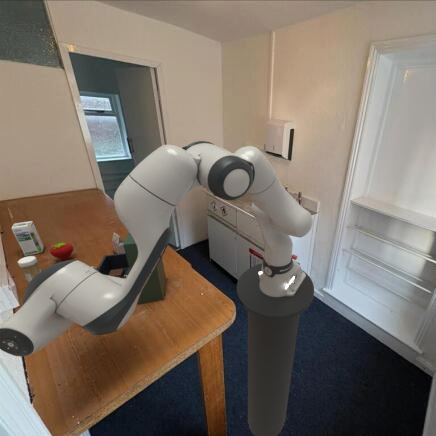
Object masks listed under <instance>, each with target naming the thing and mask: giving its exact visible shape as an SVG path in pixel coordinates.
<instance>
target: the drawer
mask: <svg viewBox="0 0 436 436" xmlns="http://www.w3.org/2000/svg"><path fill="white" fill-rule="evenodd" d="M97 267H98V269H97V270H98V271H99V273H101V274H103V275H109V273H110V271H111V270H117V269H124V272H125V274H126V273H128V274H129V272H130V268H129V264H128V261H127V257H126V253H121V254H117V253H113V254H107V255H103V257H102V259H101V261H100V263H99V265H98V266H97Z"/></svg>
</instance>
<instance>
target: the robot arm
mask: <svg viewBox="0 0 436 436" xmlns="http://www.w3.org/2000/svg"><path fill="white" fill-rule="evenodd" d="M200 186H201V187H202V188H204V189H206V190H207V191H209V192H210V193H212V195H214V196H215V197H216V198H219V199H222V200H225V201H235V200H238V199H240V198H242V197H243V196H244V195H247V197H248V198H249V199H250V201H251V202H252V203H251V209H250V210H251V214H252V216H253V218H254V219H255V220H256V223H257V224H258V226H259V228H260V231H261V234H262V238H263V245H264V250H263V251H264V252H263V257H262V263H263V264H262V269H261V272H259V279H260V283H259V287H260V290H261V291H262V292H263V293H264V294H266V295H268V296H271V297H282V296H294V295H295V293H296V291H297V290H298V288H299V287H300V285H301V284H302V282H303V281H304V279H305V277H306V274H307V273H306V272H305V271H304V270H303V269H302V266H301V263H299V262H298V261H297V259H298V255H296V254H293V249H294V248H293V247H294V245H293V244H294V243H293V240H292V237H293V238H298V239H299V238H303V237H305V236H307V235H308V234H309V232H310V231H311V229H312V227H313V223H314V221H313V216H312V213H311V212H309V211H308V210H307V209H306V208H304V207H303V206H302V205H301V204H300V203H299V202H297V200H296V199H295V198H294V197H293V196H292V195H291V194H290V193H289V192H288V191H287V189H286V188H285V187H284V186H283V183H282V181H281V180H280V178H279V176H278V175H277V172H276V171H275V169H274V167H273V166H272V164H271V162H270V161H269V159H268V158H267V157H266V156H265V154H264V153H263V152H262V151H261V150H260V149H259V148H258V147H256V146H252V145H246V146H242V147H240V148H238V149H237V150H236V151H235V152H234V153H233V152H231V151H230V150H228V149H226V148H224V147H221V146H218V145H216V144H215V143H213V142H210V141H206V140H198V141H193V142H192V143H189V144H188V145H186V146H182V147H180V146H178V145H174V144H170V143H169V144H163V145H161V146H159V147H157V148H156V149H155V150H153V151H152V152H151V153H150V154H148V155H147V156H146V157H144V159H142V161H140V162H139V163H138V164H137V165H136V166H135V167H134V168H133V169H132V171H130V173H129V174H128V175H127V176H126V177H125V178H124V179H123V181H121V183H120V184H119V186H118V187H117V189H116V191H115V192H114V195H113V205H114V210H115V213H116V216H117V218H118V219H119V221H120V222H121V224H122V225H123V226H124V228H125V229H126V230H127V231H128V233H130V234H131V236H132V237H133V239H134V241H135V243H136V245H137V248H138V257H137V260H136V262H135V264H134V265H133V267H132V269H131V271H130V272H129V274H128V273H126V274H125V275H124V278H118V277H113V276H108V275H103V274H101V273H99V271H98V270H97V269H98V267H99V266H95V265H92V266H91V265H88V264H87V263H85V262H83V261H81V260H79V259H69V260H68V259H67V260H63V261H60V262H56V263H53V264H52V265H50V266H49V267H47V268H44V270H42V272H40V273H39V274H38V275H36V276H35V277H34V278H33V279H32V280H31V281H30V283H29V282H28V284H27V286H26V287H25V290H24V294H23V297H22V306H21V307H20V308H18V310H17V311H15V312H14V313H13V314H12V315H11V316H9V317H8V318H7V319H5V320H3V322H2V323H0V349H1V350H0V351H2V352H4V353H7V354H8V355H10V356H14V357H29V356H31V355H33V354H36V353H38V352H39V351H41V350H42V349H45V347H47V346H48V345H49V344H51V343H53V342H54V341H55V340H56V339H59V337H61V336H62V335H63V334H64V333H66V332H67V331H68V330H69V329H70V328H72V326H73V325H74V323H75V324H77V325H79V326H80V327H81V328H82V329H84V330H85V331H87V332H89V333H90V334H91V335H93V336H94V337H95V336H103V335H108V334H112V333H115V332H118V330H120V329H121V328H122V327H123V326H124V325H126V324H127V322H129V320H130V318H131V317H132V316H133V314H134V312H135V310H136V308H137V306H138V303H139V301H138V300H139V298H140V296H141V294H142V292H143V290H144V288H145V286H146V285H147V283H148V281H149V279H150V277H151V276H152V274H153V272H154V270H155V268H156V267H157V265H158V263H159V261H160V259H161V258H162V259H163V256H164V254H165V252H166V250H167V248H168V246H169V244H170V241H171V239H172V235H173V231H172V229H171V228H170V223H171V217H172V214H173V212H174V210H175V209H176V208H177V207H178V205H180V203H181V202H182V201H183V199H184V197H185V196H186V195H187V194H189V192H190V191H192V190H194V189H195V188H198V187H200ZM291 236H292V237H291ZM302 270H303V271H304V272H305V273H306V274H305V273H304V272H303V271H302Z"/></svg>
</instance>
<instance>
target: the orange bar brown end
mask: <svg viewBox="0 0 436 436" xmlns="http://www.w3.org/2000/svg"><path fill="white" fill-rule="evenodd" d="M124 275H125V272H124V269H117V270H111V271H110V273H109V275H108V276H113V277H118V278H124Z"/></svg>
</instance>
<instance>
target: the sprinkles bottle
mask: <svg viewBox="0 0 436 436" xmlns="http://www.w3.org/2000/svg"><path fill="white" fill-rule="evenodd" d="M17 265H18V266H19V267H20V269H21V271H22V272H23V275H24V277H25V279H26V280H27V282H28V284H29V283H30V281H31V280H32V279H33V278H34V277H35V276H36V275H38V274H39V273H40V272H42V271H43V270H42V268H41V266H40V264H39V262H38V259H37V257H36V256H35V255H28V256H24V257H21V258H20V259H18V260H17Z"/></svg>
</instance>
